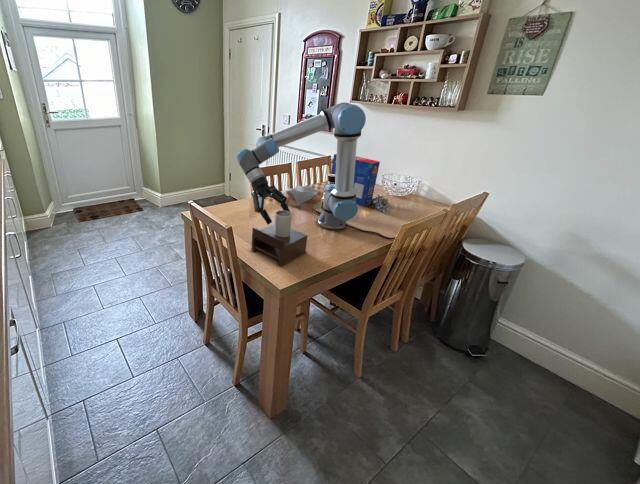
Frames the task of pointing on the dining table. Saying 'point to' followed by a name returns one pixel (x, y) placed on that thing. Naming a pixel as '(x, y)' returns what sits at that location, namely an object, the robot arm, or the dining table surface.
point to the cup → (282, 223)
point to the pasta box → (363, 179)
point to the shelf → (279, 244)
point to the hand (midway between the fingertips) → (279, 219)
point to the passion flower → (380, 203)
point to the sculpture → (301, 194)
